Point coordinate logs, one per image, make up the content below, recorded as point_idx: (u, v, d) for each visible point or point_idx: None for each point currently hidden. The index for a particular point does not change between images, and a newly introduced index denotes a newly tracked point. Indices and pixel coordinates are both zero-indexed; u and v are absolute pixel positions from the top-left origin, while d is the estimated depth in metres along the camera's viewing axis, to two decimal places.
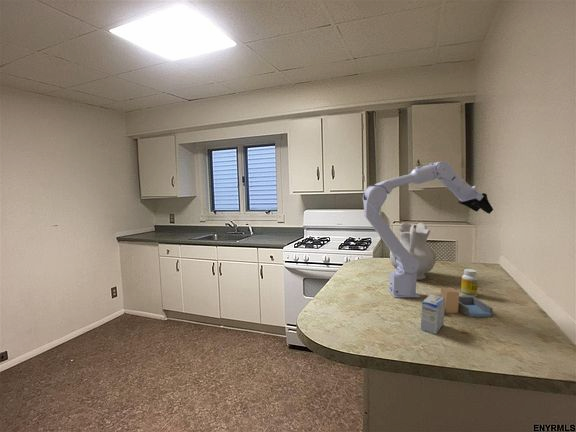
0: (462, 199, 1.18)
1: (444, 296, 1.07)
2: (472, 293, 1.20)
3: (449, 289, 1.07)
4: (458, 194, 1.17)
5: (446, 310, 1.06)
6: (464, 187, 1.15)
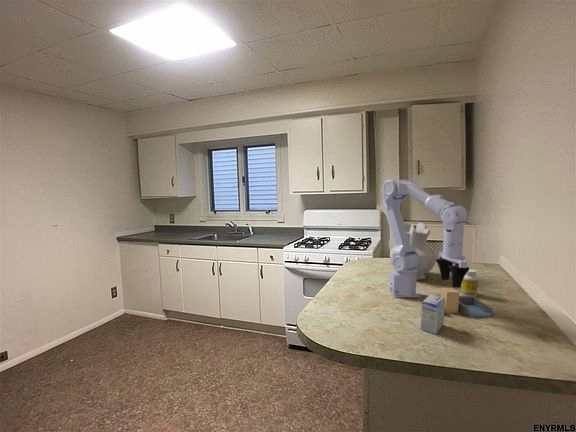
0: (445, 256, 1.05)
1: (444, 296, 1.07)
2: (472, 293, 1.20)
3: (449, 289, 1.07)
4: (447, 248, 1.04)
5: (446, 310, 1.06)
6: (458, 247, 1.02)
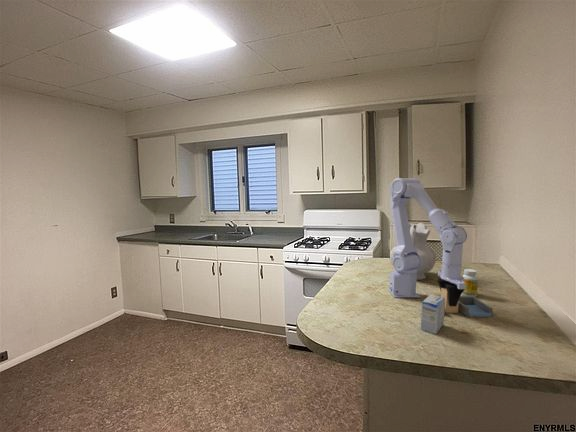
0: (444, 276, 1.05)
1: (444, 296, 1.07)
2: (472, 293, 1.20)
3: None
4: (445, 269, 1.05)
5: (446, 310, 1.06)
6: (456, 268, 1.03)
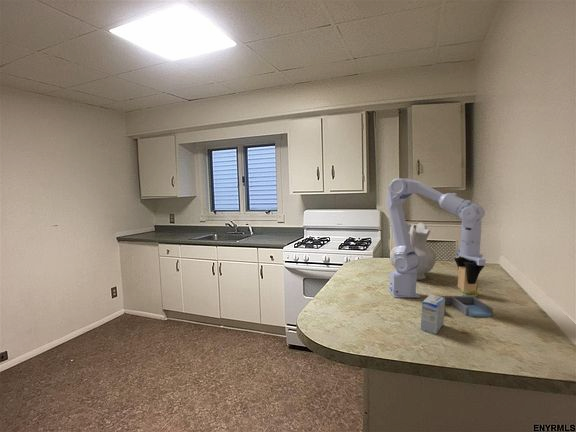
0: (462, 254, 1.04)
1: (462, 274, 1.06)
2: (472, 293, 1.20)
3: None
4: (464, 246, 1.04)
5: (464, 288, 1.05)
6: (475, 245, 1.02)
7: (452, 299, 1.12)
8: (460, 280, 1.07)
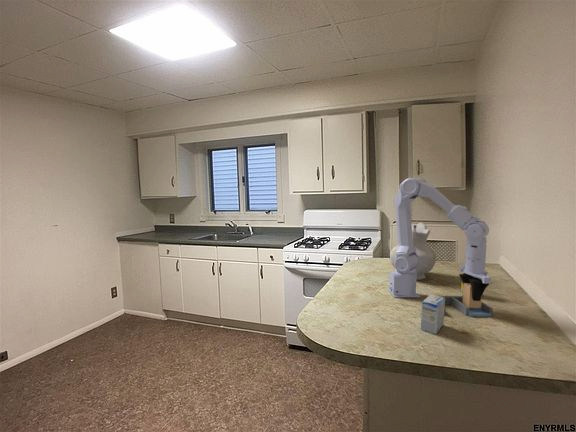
0: (467, 271, 1.05)
1: (467, 291, 1.06)
2: None
3: None
4: (469, 263, 1.04)
5: (469, 305, 1.05)
6: (480, 262, 1.03)
7: (452, 299, 1.12)
8: (465, 297, 1.07)
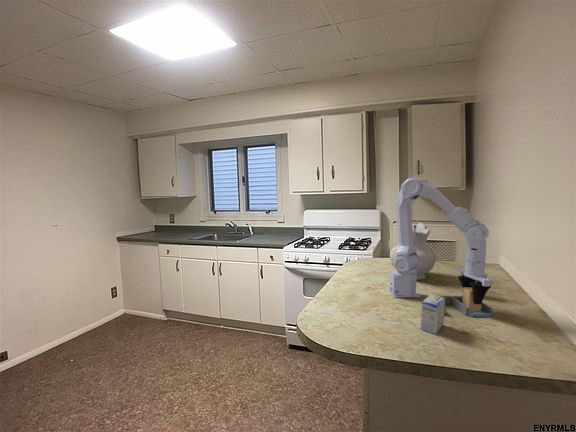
0: (467, 273, 1.05)
1: (467, 295, 1.06)
2: None
3: (471, 288, 1.07)
4: (469, 266, 1.05)
5: (469, 309, 1.06)
6: (480, 265, 1.03)
7: (452, 299, 1.12)
8: (465, 301, 1.08)
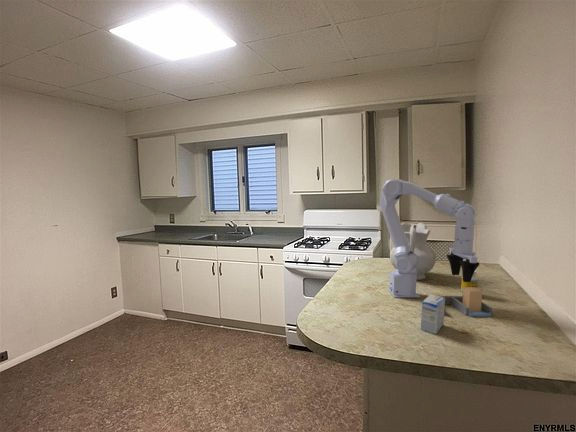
0: (456, 252, 1.09)
1: (467, 295, 1.06)
2: None
3: (471, 288, 1.07)
4: (458, 245, 1.09)
5: (469, 309, 1.06)
6: (468, 243, 1.07)
7: (452, 299, 1.12)
8: (465, 301, 1.08)
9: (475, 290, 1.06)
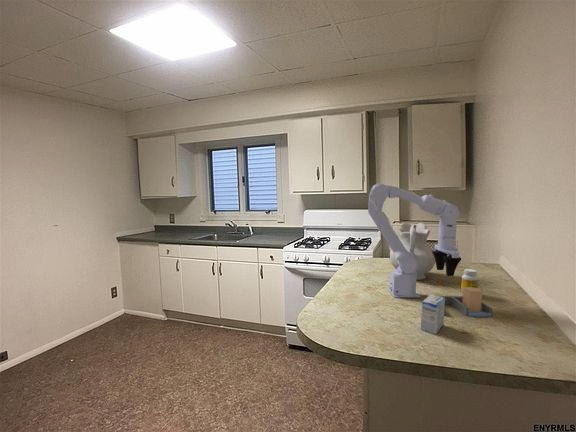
0: (440, 248, 1.17)
1: (467, 295, 1.06)
2: None
3: (471, 288, 1.07)
4: (441, 241, 1.16)
5: (469, 309, 1.06)
6: (451, 240, 1.14)
7: (452, 299, 1.12)
8: (465, 301, 1.08)
9: (475, 290, 1.06)
